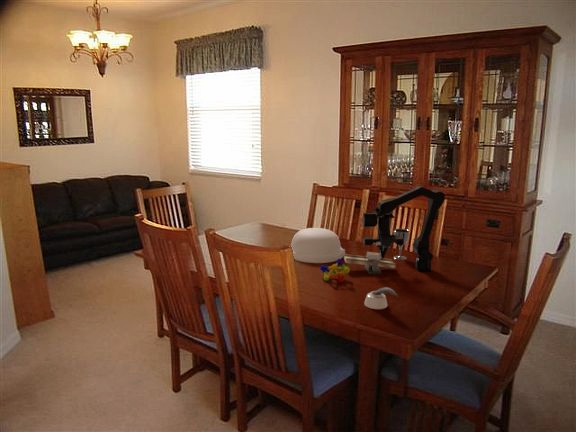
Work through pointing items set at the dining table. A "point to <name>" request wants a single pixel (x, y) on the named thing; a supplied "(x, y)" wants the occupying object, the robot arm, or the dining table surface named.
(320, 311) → the dining table surface
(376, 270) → the pivot stand
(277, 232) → the dining table surface
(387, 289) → the inkwell
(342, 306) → the dining table surface
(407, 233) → the wine glass
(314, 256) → the dome cover
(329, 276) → the decorative model
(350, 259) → the beam
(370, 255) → the steel block
